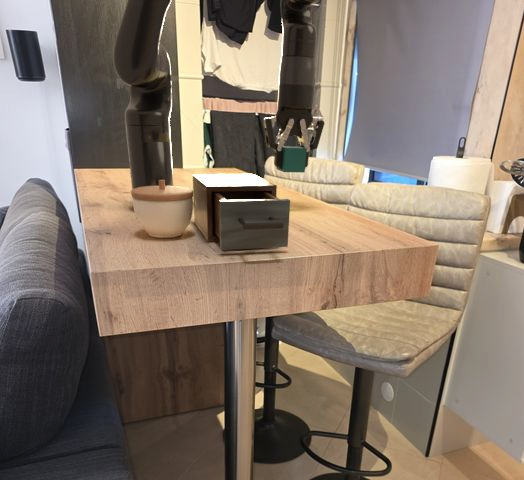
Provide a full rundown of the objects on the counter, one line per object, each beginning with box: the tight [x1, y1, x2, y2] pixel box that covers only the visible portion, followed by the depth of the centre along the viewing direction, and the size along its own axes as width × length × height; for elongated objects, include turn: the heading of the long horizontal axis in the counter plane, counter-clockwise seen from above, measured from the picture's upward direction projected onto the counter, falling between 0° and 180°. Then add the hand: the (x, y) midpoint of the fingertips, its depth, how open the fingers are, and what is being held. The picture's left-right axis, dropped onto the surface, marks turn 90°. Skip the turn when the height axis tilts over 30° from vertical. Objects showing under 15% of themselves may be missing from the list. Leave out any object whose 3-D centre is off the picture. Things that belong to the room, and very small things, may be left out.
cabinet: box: [192, 173, 278, 243], centre depth 86 cm, size 16×12×9 cm
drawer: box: [212, 191, 291, 251], centre depth 75 cm, size 20×11×7 cm, turn 16°
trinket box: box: [130, 180, 194, 239], centre depth 81 cm, size 11×11×9 cm
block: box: [276, 145, 307, 173], centre depth 103 cm, size 5×5×5 cm
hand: (290, 168), depth 104 cm, fingers closed on block, 5 cm apart
